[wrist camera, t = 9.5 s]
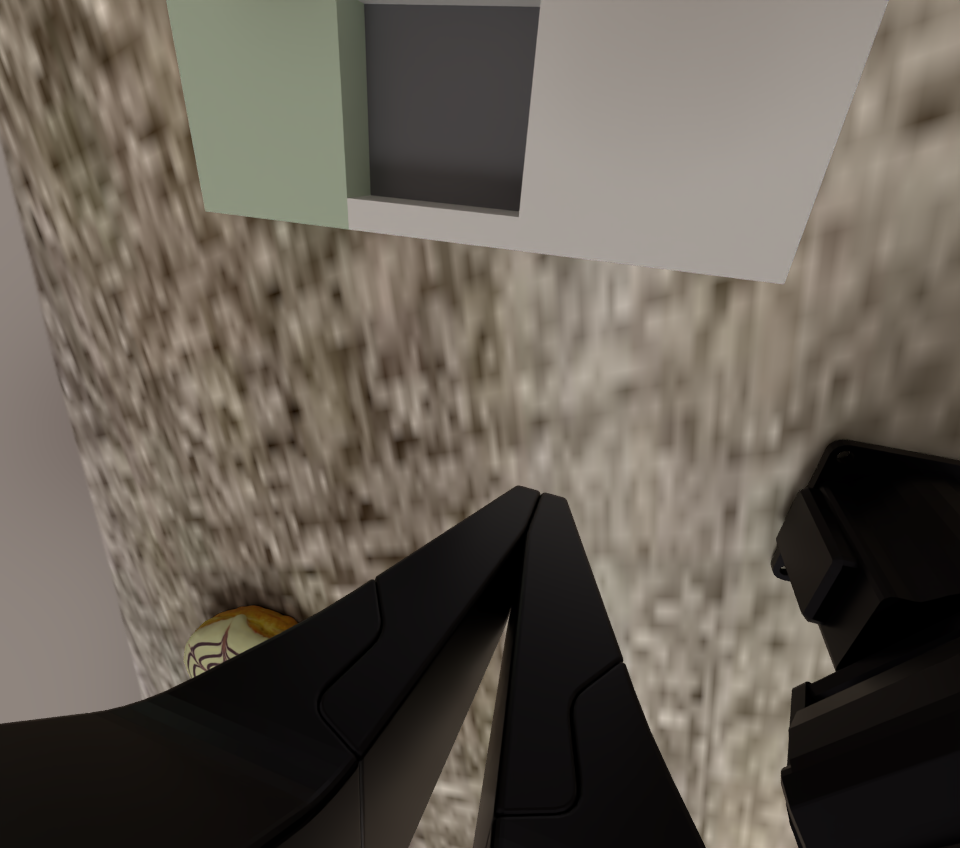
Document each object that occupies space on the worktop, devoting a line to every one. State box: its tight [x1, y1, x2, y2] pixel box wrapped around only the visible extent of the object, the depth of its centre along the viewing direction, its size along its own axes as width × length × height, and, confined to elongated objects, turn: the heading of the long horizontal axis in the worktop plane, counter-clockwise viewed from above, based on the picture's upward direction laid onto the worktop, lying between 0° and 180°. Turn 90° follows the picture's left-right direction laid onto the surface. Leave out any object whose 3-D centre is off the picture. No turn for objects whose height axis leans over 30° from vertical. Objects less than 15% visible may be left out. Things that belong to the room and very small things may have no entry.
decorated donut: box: [184, 605, 298, 679], centre depth 34 cm, size 10×11×4 cm
